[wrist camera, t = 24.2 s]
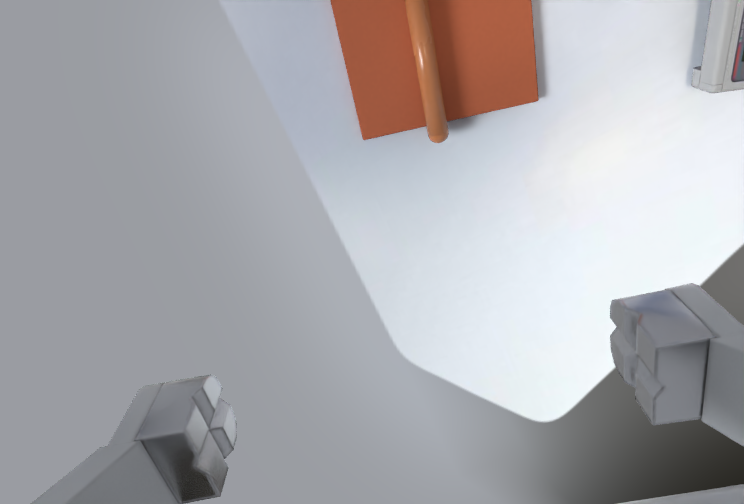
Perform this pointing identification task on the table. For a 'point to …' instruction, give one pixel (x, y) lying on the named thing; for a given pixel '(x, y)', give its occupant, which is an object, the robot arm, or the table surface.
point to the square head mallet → (427, 68)
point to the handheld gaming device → (722, 49)
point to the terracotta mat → (454, 55)
